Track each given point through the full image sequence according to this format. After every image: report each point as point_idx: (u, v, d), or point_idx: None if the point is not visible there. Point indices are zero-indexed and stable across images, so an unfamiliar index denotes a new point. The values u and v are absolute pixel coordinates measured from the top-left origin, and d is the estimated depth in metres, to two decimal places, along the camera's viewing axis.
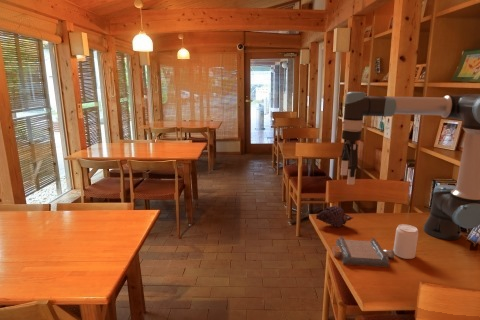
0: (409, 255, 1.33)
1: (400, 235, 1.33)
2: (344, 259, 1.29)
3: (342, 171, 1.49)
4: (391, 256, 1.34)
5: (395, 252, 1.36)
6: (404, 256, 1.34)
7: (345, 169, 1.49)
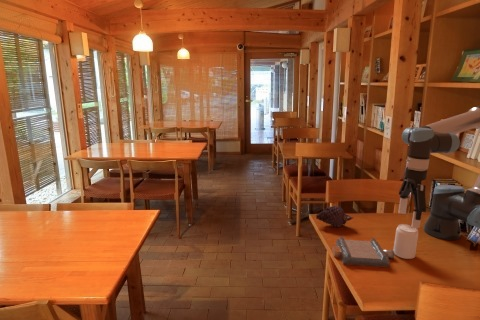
0: (409, 255, 1.33)
1: (400, 235, 1.33)
2: (344, 259, 1.29)
3: (400, 209, 1.40)
4: (391, 256, 1.34)
5: (395, 252, 1.36)
6: (404, 256, 1.34)
7: (404, 207, 1.39)
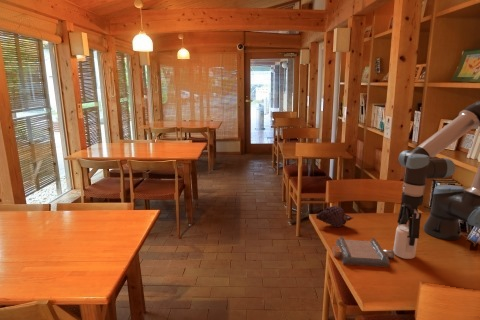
0: (409, 255, 1.33)
1: (400, 235, 1.33)
2: (344, 259, 1.29)
3: None
4: (391, 256, 1.34)
5: (395, 252, 1.36)
6: (404, 256, 1.34)
7: None
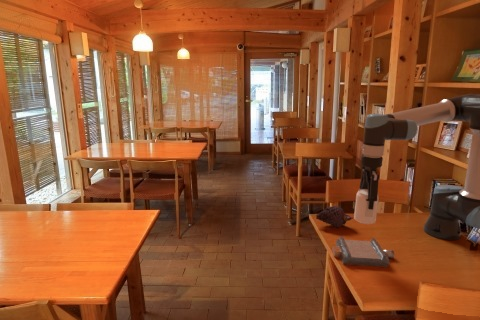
0: (368, 220, 1.28)
1: (360, 199, 1.28)
2: (344, 259, 1.29)
3: None
4: (391, 256, 1.34)
5: (355, 218, 1.32)
6: (364, 221, 1.29)
7: None
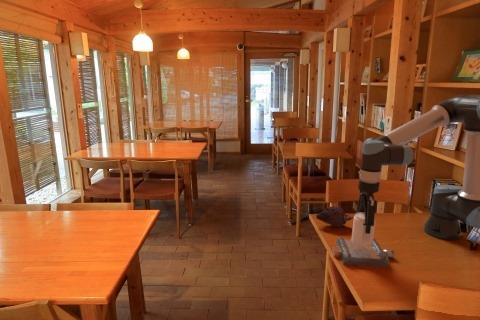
0: (365, 244, 1.31)
1: (357, 223, 1.31)
2: (344, 259, 1.29)
3: None
4: (391, 256, 1.34)
5: (352, 240, 1.34)
6: (361, 244, 1.31)
7: None
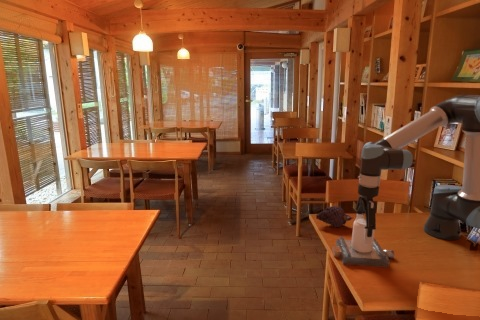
0: (365, 249, 1.31)
1: (356, 228, 1.31)
2: (344, 259, 1.29)
3: None
4: (391, 256, 1.34)
5: (352, 246, 1.34)
6: (360, 250, 1.32)
7: None
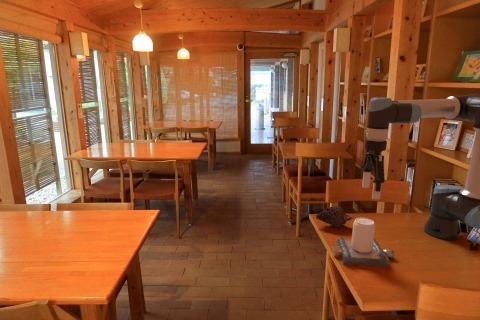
0: (365, 249, 1.31)
1: (356, 228, 1.31)
2: (344, 259, 1.29)
3: (364, 183, 1.37)
4: (391, 256, 1.34)
5: (352, 246, 1.34)
6: (360, 250, 1.32)
7: (367, 181, 1.37)
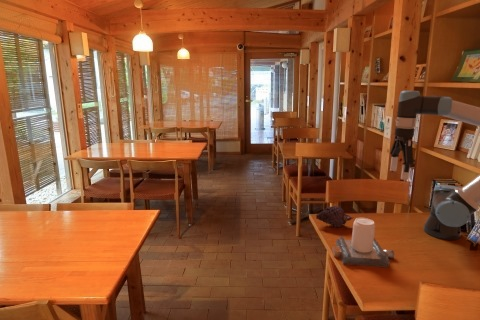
0: (365, 249, 1.31)
1: (357, 228, 1.31)
2: (344, 259, 1.29)
3: (392, 167, 1.55)
4: (391, 256, 1.34)
5: (352, 246, 1.34)
6: (360, 250, 1.32)
7: (395, 165, 1.55)
